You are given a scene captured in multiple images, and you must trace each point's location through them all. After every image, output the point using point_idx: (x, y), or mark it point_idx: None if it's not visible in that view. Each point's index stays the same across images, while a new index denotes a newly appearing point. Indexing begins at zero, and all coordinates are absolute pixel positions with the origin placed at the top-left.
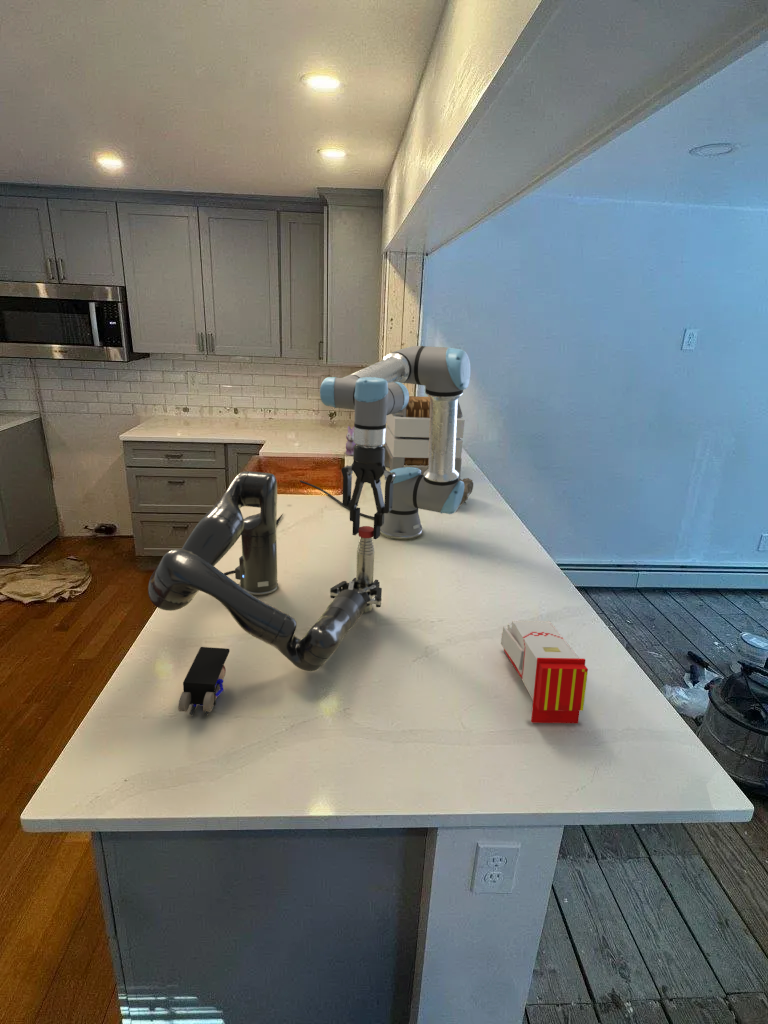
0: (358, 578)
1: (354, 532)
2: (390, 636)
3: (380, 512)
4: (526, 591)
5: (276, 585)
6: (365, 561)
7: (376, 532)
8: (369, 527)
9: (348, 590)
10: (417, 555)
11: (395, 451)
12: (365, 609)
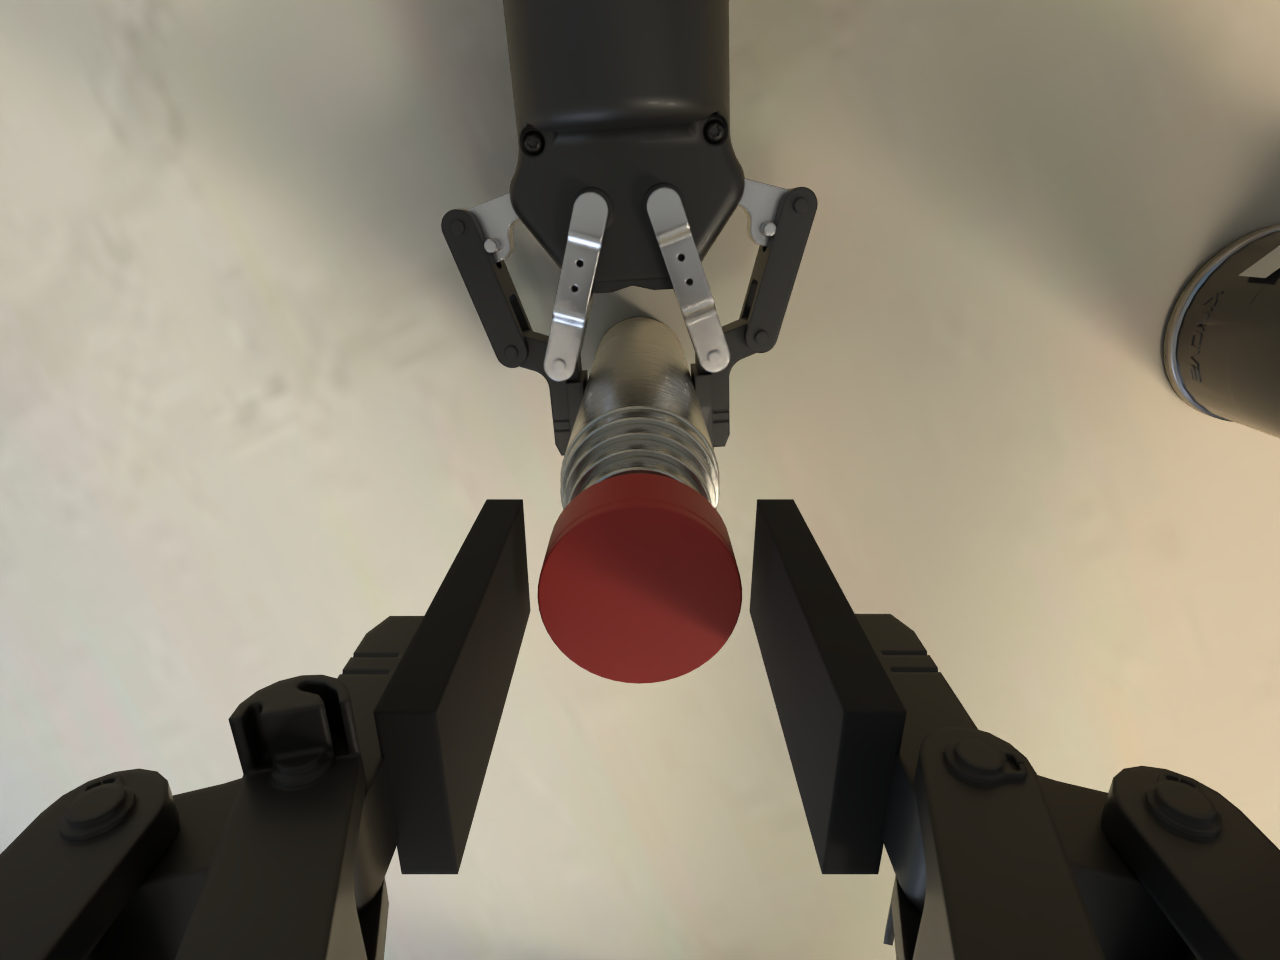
0: (665, 361)
1: (774, 516)
2: (391, 147)
3: (269, 759)
4: None
5: (1182, 349)
6: (610, 394)
7: (466, 543)
8: (625, 655)
9: (633, 79)
10: (607, 908)
11: None
12: (613, 327)
